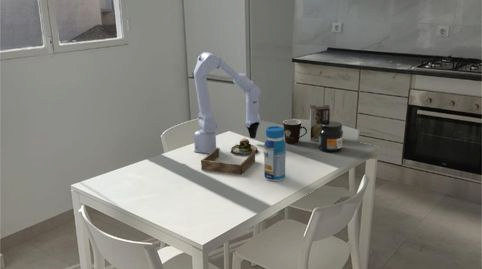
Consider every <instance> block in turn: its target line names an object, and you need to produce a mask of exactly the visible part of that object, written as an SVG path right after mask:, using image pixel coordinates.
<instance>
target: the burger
mask: <svg viewBox="0 0 482 269" xmlns="http://www.w3.org/2000/svg"><path fill="white" fill-rule="evenodd" d="M230 150H231V151H230V153H232V152H233V153H235V154H239V155H250V154H252V153H253V152H255V154H257V153H258V148H257V147H256V146H255V145H253V144H251V143H250V140H249V139H248V138H242V139H240V141H239V144H237V143H236V144H234V145H233V146H232V147H231V148H230Z"/></svg>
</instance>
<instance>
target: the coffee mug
mask: <svg viewBox="0 0 482 269" xmlns="http://www.w3.org/2000/svg"><path fill="white" fill-rule="evenodd" d="M282 126H283V127H282V128H284V141H285V144H287V145H297V143H298V144H299V143H300V138H302V137H305V136H306V134H307V133H308V130H307V128H306V127H305V126H302V121H301V120H299V119H286V120H283V121H282ZM301 129H304V130H305V132H304V134H302V135H301Z"/></svg>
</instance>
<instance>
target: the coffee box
mask: <svg viewBox="0 0 482 269" xmlns="http://www.w3.org/2000/svg"><path fill="white" fill-rule="evenodd" d="M309 106H310V107H309V108H310V109H309V110H310V111H309V141H311V142H315V141H316V142H317V141H318V142H319V130H320V129H321V128H320V126H321V123H322V122H325V121H331V118H330V117H331V108H330V105H329V104H327V105H326V104H321V105H320V104H319V105H318V104H316V105H315V104H313V105H312V104H310V105H309Z"/></svg>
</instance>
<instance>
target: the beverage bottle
mask: <svg viewBox="0 0 482 269" xmlns="http://www.w3.org/2000/svg"><path fill="white" fill-rule="evenodd" d="M265 137H266V140H265V141H264V143H263V144H264V145H263V146H264V150H263V156H264V159H263V160H264V161H263V162H264V165H263V166H264V173H263V174H264V175H263V176H264V179H266V180H267V181H270V182H279V181H283V180H284V179H285V178H286V155H287V150H286V146H287V145H286V144H287V143H285V139H284V138H285V136H284V127H282V126H278V125H271V126H268V127H266V128H265Z"/></svg>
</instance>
